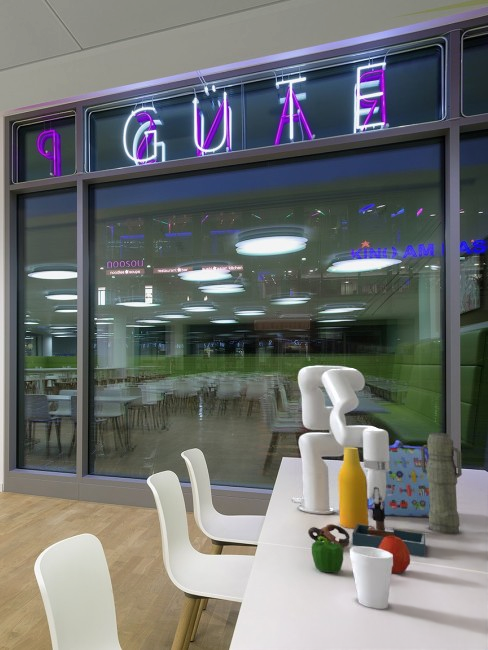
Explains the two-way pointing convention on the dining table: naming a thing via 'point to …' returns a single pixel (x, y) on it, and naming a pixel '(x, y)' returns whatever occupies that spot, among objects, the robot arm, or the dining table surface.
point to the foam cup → (372, 575)
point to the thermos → (442, 482)
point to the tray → (411, 539)
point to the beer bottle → (352, 491)
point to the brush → (380, 530)
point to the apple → (396, 553)
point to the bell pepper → (327, 555)
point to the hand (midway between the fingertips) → (378, 519)
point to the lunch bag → (406, 483)
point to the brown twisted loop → (329, 534)
